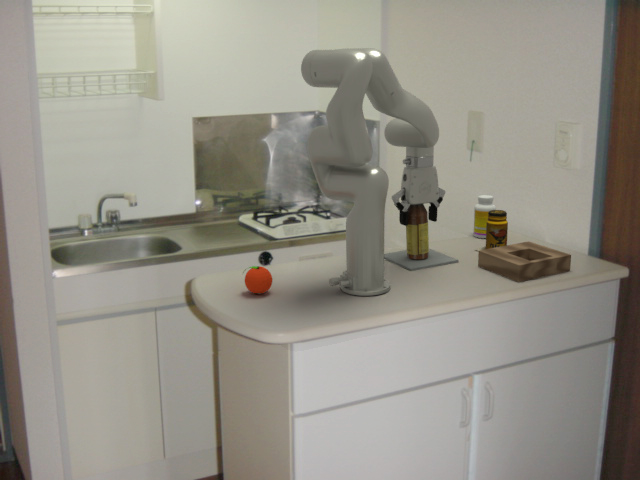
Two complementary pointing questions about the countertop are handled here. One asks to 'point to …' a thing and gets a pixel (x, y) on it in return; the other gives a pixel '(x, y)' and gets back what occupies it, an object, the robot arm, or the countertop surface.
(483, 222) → the supplement bottle
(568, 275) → the countertop surface
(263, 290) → the clementine
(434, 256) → the rubber mat
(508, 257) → the socket block
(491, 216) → the condiment
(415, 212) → the sauce bottle
